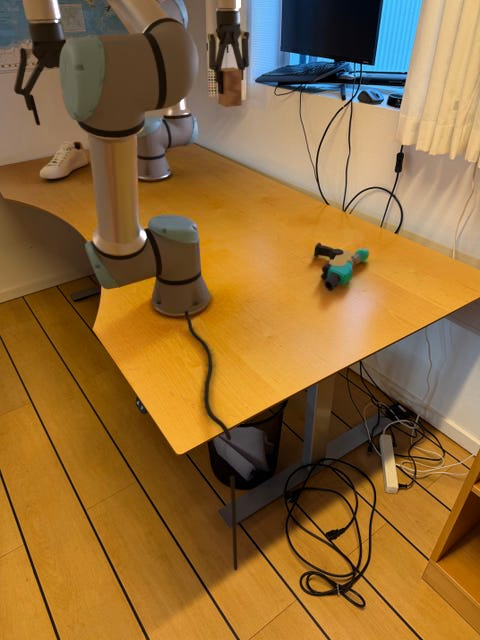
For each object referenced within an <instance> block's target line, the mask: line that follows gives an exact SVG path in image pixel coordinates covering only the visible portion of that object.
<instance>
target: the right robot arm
mask: <svg viewBox="0 0 480 640" xmlns="http://www.w3.org/2000/svg"><path fill="white" fill-rule="evenodd" d="M21 1H22V4H23V10H24V15H25V18H26V20H27V21H29V23H28V24H27V28H28V31H29V36H30V40H31V44H32V45H31V46H32V47H31V48H25V47H23V46H21V47H19V48H18V53H19V64H18V67H17V72H16V77H15V81H14V86H13V91H14V93H15V94H17V95H20V96H23V98H24V102H25V107H26V108H27V110H28V111H32V114H33V119H34V121H35V125H36V126H41V121H40V118H39V114H38V113H39V112H38V109H37V105H36V102H35V97H34V95H33V94H31V93H32V91H33V89H34V88H35V85H36V83H37V81H38V79H39V78H40V76H41V74H42V72H43V71H44V69H45V68H47V69H49V70H50V69H54V68H58V70H59V82H60V89H61V91H62V92H61V93H62V100H63V103H64V108H65V110H66V112H67V115H68V116H69V117H70V118H71V119H72V120H74V121H76V122H77V126H78V127H79V128H80V129H81V131H83V133H86V134H87V140H88V150H89V158H90V159H89V160H90V168H91V174H92V175H91V177H92V181H93V182H92V184H93V185H92V186H93V194H94V202H95V210H96V219H97V225H96V227H95V228H94V229H93V231H92V234H91V235H92V237H91V238H92V240H89V241H87V242H86V243H85V244H84V249H85V252H86V254H87V255H86V256H87V258H88V260H89V262H90V265H91V267H92V270H93V273H94V274H95V277H96V278H97V281H98V283H99V284H100V286H101V287H102V288H103V289H104V290H113V289H117V288H122V287H127V286H129V285H132V284H136V283H139V282H143V281H147V280H149V279H153V278H155V281H154V284H153V290H152V294H151V305H152V308H153V310H154V311H155V312H156V313H157V314H159V315H160V316H163V317H167V318H171V319H183V318H185V319H186V322H187V326H188V329H189V333H190V334H191V336H192V337H193V338H194V339H196V340H197V341H198V343H200V345H202V347H203V348H204V350H205V352H206V355H207V362H208V363H207V364H208V369H207V374H206V378H205V381H204V382H205V383H204V399H203V401H204V407H205V411H206V413H207V416H208V417H209V419H211V420H212V421H213V422H214V423H216V425H218V426H219V427H220V428H221V430H222V431H223V433H224V435H225V437H226V439H227V441H231V440H232V436H231V433H230V430H229V428H228V427H227V426H226V424H225V423H224V422H223V421H222V420H221V419H220V418H218V417H217V416H216V415H215V414H214V413H213V412H212V410H211V406H210V400H209V399H210V398H209V396H210V382H211V377H212V374H213V359H212V358H213V357H212V353H211V351H210V348H209V347H208V344H207V343H206V342H205V341H204V340H203V338H201V337H200V336H199V335H198V334H197V333H196V332H195V330H194V328H193V323H192V321H191V317H194V316H196V315H199V314H201V313H202V312H204V311H205V310H207V308H208V307H209V306H210V303H211V294H210V290H209V288H208V286H207V284H206V281H205V278H204V277H203V275H202V262H201V261H202V259H201V243H200V242H201V238H200V234H199V228H198V225H197V224H196V222H195V221H194V220H192V219H191V218H188V217H187V216H183V215H178V214H159V215H156V216H153V217H152V218H150V219H149V220H148V223H147V228H144V227H142V225H140V211H139V209H140V207H139V206H140V205H139V180H138V167H137V160H138V158H137V134H138V133H140V132H141V131H142V130H143V128H144V126H145V117H146V112H152V111H159V110H166V108H169V107H172V106H174V105H176V104H178V103H179V102H181V101H182V100H183V99H184V98H185V97H186V98H187V96H188V95H189V93H191V91H192V89H193V88H194V86H195V83H196V80H197V77H198V72H199V68H200V67H199V63H200V62H199V60H200V59H199V53H198V48H197V45H196V42H195V40H194V38H193V36H192V34H191V33H190V31H188V29H187V27H186V28H185V27H184V26H183V25H182V23H180V22H179V21H178V20H176V19H174V18H171V17H169V16H168V15H167V14H166V13H165V11H164V10H163V9H162V8H161V6H160V5H159V4H158V3H157V1H156V0H106V2H107V3H108V4H109V6H110V7H111V9H112V10H113V12H114V13H115V15H116V17H118V19H119V20H120V21H121V22H122V24H123V26H124V27H125V28H126V30H127V31H128V33H121V34H119V33H118V34H105V35H104V34H103V35H97V34H89V35H87V36H81V37H75V38H70V39H68V40H67V38H66V34H65V29H64V24H63V22H62V21H61V19H62V13H61V9H60V5H59V0H21ZM32 55H33V56H34V57H35V58H36V59H37V62H36V63H35V65H34V68H33V70H32V72H31V74H30V76H29V78H28V79H27V80H26V81H27V82H26V83H25V85H24V87H23V83H24V78H25V74H26V71H27V70H26V69H27V64H28V60H29V59H31V56H32ZM235 482H236V481H235V475H229V483H230V499H231V523H232V525H231V528H232V556H233V557H232V558H233V570H234V571H238V538H237V504H236V503H237V501H236V500H237V499H236V483H235Z"/></svg>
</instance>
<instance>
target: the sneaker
mask: <svg viewBox="0 0 480 640" xmlns="http://www.w3.org/2000/svg"><path fill="white" fill-rule="evenodd" d="M88 163H89V162H88V158H87V155H86V151H85V149H84V146H83V143H82V142H81V141H73V143H72V142H71V141H64V142H62V143H61V145H60V147H59V149H58V150H56V152H55V155H54V156H53V158H52V159H51V160H50V162H48V163H47V164H46V165H44V166H43V167H42V168H41V170H40V171H39V177H40V178H41V179H45V180H46V179H47V180H53V179H54V180H56V179H61V178H64V177H66V176H68V175H70V173H71V172H73V171H76V170H77V169H80V168H83V167H85V166H87V165H88Z"/></svg>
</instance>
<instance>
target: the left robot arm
mask: <svg viewBox="0 0 480 640" xmlns="http://www.w3.org/2000/svg"><path fill="white" fill-rule="evenodd" d="M156 1H157V3H158V4H159V5H160V6H161V8H162V9H163V10H164V11H165V13H166V14H167V15H168V16H169V17H171V18H174V19H176V20H178V21H179V22H180V23H182V25H183V26H184V27H185V28H186V29H187V27H188V22H189V16H188V10H187V7H186V5H185V2H184V0H156ZM241 3H242V1H241V0H215V8H216V9H217V10H216V11H215V22H216V23H215V24H216V28H215V31H214V32H212V33H208V34H207V40H208V69H210V70H212V71H214V81H215V83H216V84H217V94H218V93H220V94H223V72H221V68H223V67H222V66H223V61H224V58H225V54H226V53H225V52H226V49H227V47H228V46H229V45H231V48H232V51H233V55H234V59H235V62H236V66H237V67H236V68H237V69H240V70H242V81H244V71H245V70H246V68H249V66H250V55H249V54H250V53H249V38H250V32H249V31H245V30H242V28H241V23H242V20H241V19H242V18H241V17H242V16H241V15H242V14H241V13H242V12H241V10H240V9H241V8H242V5H241ZM217 39H218V48H217ZM239 39H241V40H240V42H239ZM240 44H241V48H240ZM187 105H188V104H187V96H186V97H185V98H184V99H183V100H182V101H181V102H179V103H178V104H176V105H174V106H172V107H169V108H165V109H164V111H163V113H162V117H163V118H161V116H159V115H151V116H150V115H148V116H145V126H144V128H143V130H142V131H141V132H140V133H138V134H137V167H138V181H140V182H146V183H157V182H162V181H166V180H168V179H170V178H171V177H172V169H171V167H170V165H169V162H168V159H167V158H166V151H165V149H166V150H168V149H173V148H180V147H186V146H190V145H192V144H194V143H195V142H196V140H197V138H198V135H199V126H198V125H199V124H198V121H197V118H196V117H195V116H194V115H193V114H192V111H191V110H190V109H189V108H188V106H187Z"/></svg>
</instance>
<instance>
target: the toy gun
mask: <svg viewBox="0 0 480 640" xmlns="http://www.w3.org/2000/svg"><path fill="white" fill-rule="evenodd" d="M313 256H314V257H315V258H318V257H319V256H320V257H327V258H329V261H328V262H326V263H324V265H323V266H322V267H321V271H322V273H321V275H320V278H321V280H322V281H324V287H325V289H327V291H329V292H333V291H334V290H335V288H337V287H338V286H339V285H341V286H343V285H344V286H345V285H346V284H347V283H349V282H350V281H351V280H352V278H353V275H354V271H353V267H355V266H357V265H359V263H364V262H365V261H367V259H368V258H369V257H370V250H369V249H367V248H358V249H357V250H355V252H354V254H352V252H351V251H350V250H347V249H342V248H341V249H340V248H333V247H331V246H327V245H323V244H322V243H321V242H317V243H316V244H315V245H314V252H313Z"/></svg>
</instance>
